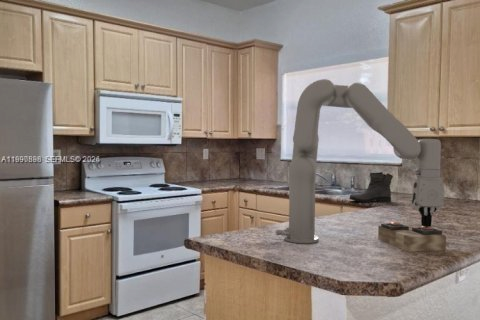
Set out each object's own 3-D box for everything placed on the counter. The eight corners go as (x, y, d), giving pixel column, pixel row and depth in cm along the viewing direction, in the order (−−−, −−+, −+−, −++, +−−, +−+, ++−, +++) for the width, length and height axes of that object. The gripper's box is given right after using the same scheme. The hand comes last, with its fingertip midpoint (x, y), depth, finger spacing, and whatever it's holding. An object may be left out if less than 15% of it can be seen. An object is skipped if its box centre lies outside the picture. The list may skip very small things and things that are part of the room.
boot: (345, 201, 276) (346, 171, 276) (385, 200, 284) (385, 171, 283) (353, 203, 267) (354, 172, 266) (394, 202, 274) (395, 172, 273)
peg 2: (424, 247, 149) (425, 228, 149) (417, 244, 153) (418, 226, 152) (435, 246, 150) (435, 227, 149) (427, 244, 153) (428, 225, 153)
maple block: (408, 251, 144) (409, 233, 143) (378, 238, 163) (378, 222, 163) (445, 250, 146) (446, 232, 146) (411, 237, 166) (411, 221, 166)
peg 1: (392, 242, 156) (392, 224, 156) (386, 239, 160) (387, 222, 160) (402, 241, 157) (402, 223, 157) (396, 239, 161) (396, 221, 161)
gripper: (415, 174, 145) (413, 228, 146) (454, 175, 148) (452, 227, 149) (402, 173, 152) (400, 224, 153) (440, 173, 155) (438, 223, 156)
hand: (426, 226), depth 151 cm, fingers closed
